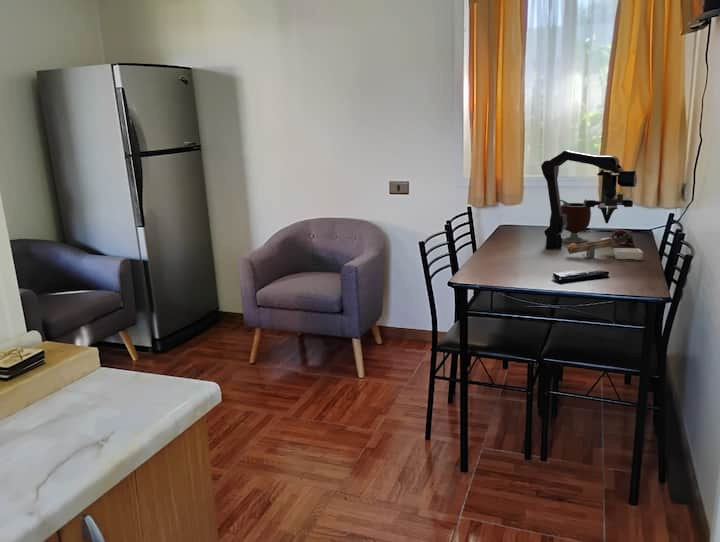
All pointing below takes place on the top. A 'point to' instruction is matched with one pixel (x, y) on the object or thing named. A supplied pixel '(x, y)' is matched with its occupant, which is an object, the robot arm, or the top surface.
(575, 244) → the ball
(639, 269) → the top surface
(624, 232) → the pottery mug
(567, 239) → the mate gourd
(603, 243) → the tan flat board
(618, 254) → the dish
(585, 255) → the fulcrum
